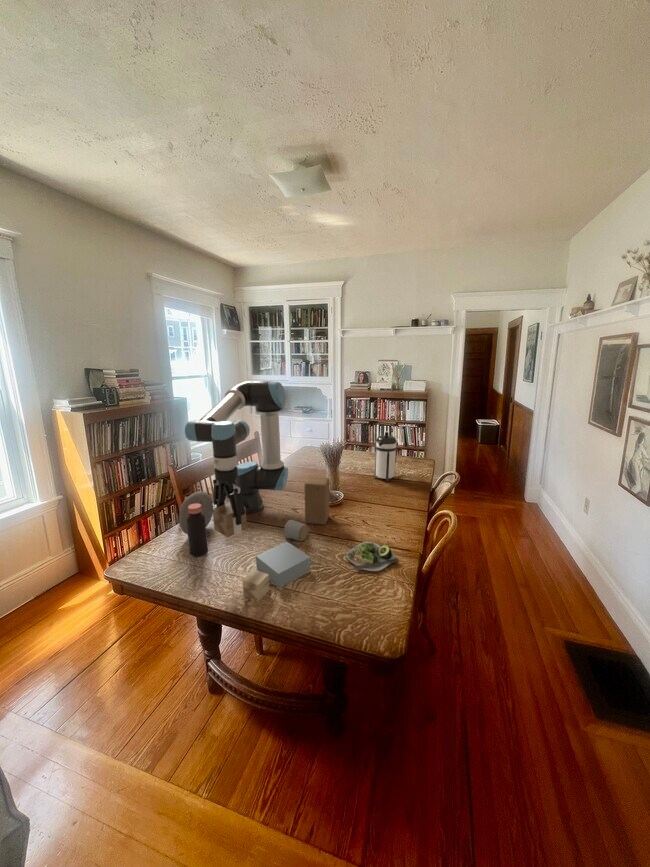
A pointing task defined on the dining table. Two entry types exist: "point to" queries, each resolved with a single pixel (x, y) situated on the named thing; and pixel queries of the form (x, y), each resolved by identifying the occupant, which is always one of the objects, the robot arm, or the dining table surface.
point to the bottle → (196, 531)
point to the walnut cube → (226, 520)
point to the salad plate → (371, 556)
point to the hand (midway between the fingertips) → (230, 527)
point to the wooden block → (317, 500)
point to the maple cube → (256, 585)
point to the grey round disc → (193, 499)
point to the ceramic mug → (295, 530)
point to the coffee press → (385, 456)
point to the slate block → (283, 564)
